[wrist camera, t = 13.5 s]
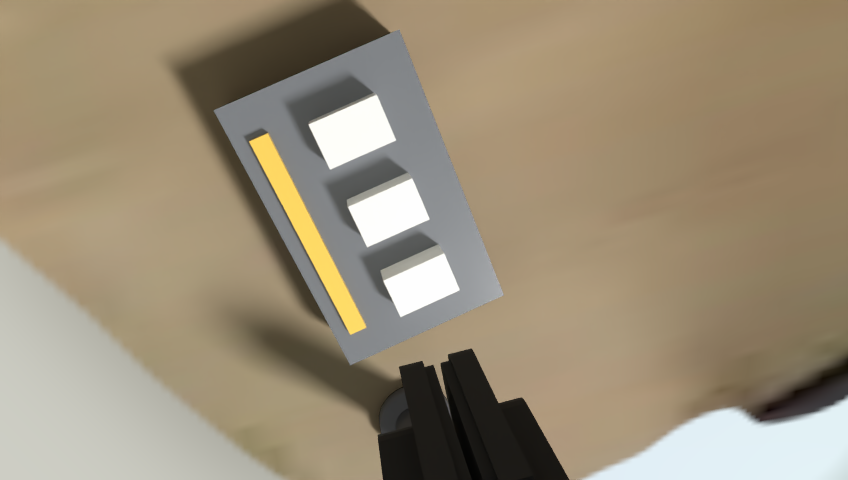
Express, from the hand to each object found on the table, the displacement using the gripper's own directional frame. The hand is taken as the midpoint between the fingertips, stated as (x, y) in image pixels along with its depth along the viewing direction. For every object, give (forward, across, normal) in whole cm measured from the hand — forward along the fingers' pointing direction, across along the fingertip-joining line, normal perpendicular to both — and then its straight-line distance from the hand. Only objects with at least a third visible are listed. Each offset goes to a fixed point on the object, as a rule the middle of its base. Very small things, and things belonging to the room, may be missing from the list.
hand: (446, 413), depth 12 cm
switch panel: (+23, 0, +1) cm, 23 cm away
